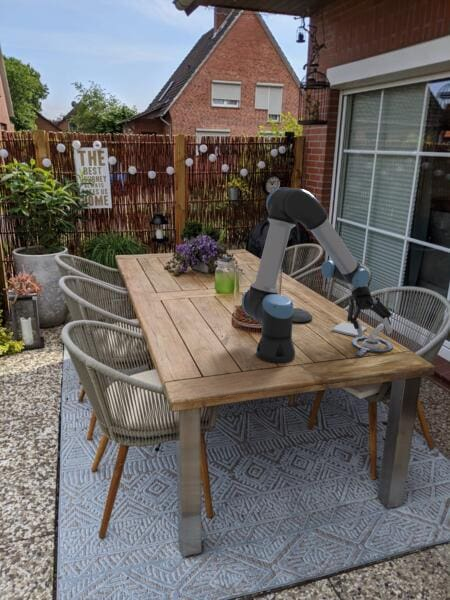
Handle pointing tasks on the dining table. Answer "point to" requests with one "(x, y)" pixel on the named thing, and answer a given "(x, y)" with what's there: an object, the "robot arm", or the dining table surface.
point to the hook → (373, 338)
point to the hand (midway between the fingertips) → (376, 334)
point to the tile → (347, 329)
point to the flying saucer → (301, 315)
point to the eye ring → (364, 350)
